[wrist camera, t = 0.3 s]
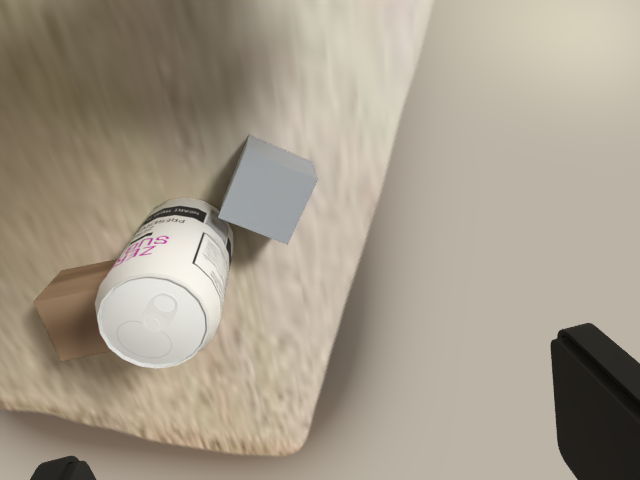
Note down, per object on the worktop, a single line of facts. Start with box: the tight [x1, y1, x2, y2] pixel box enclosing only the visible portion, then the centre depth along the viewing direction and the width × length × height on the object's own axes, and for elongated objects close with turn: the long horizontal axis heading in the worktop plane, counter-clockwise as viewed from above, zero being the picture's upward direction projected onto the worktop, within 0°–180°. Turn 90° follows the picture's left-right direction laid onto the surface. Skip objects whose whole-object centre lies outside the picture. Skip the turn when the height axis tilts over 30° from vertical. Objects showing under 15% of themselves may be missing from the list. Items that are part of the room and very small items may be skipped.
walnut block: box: [33, 259, 118, 361], centre depth 45 cm, size 6×6×6 cm
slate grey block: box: [218, 135, 318, 245], centre depth 42 cm, size 6×6×6 cm
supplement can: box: [95, 197, 233, 369], centre depth 39 cm, size 8×8×15 cm
